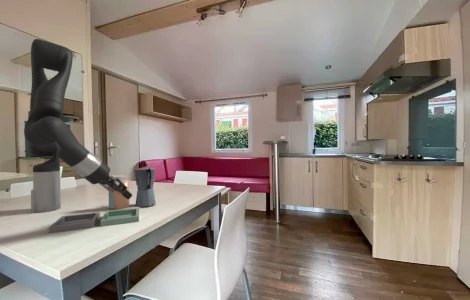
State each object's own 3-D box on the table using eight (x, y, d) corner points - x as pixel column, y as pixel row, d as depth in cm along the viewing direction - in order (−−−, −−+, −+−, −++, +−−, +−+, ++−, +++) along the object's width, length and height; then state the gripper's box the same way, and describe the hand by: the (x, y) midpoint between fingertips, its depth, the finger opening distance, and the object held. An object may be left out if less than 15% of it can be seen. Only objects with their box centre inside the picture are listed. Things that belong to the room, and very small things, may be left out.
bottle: (118, 211, 92) (118, 177, 92) (105, 210, 94) (104, 176, 94) (129, 207, 99) (129, 174, 99) (116, 206, 101) (116, 174, 101)
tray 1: (49, 235, 68) (49, 227, 68) (62, 222, 79) (62, 216, 79) (93, 229, 73) (93, 221, 73) (100, 218, 84) (100, 212, 84)
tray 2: (100, 228, 73) (100, 220, 73) (105, 217, 84) (105, 211, 84) (138, 223, 78) (138, 216, 78) (139, 213, 89) (139, 207, 89)
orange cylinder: (112, 209, 78) (112, 181, 78) (114, 205, 82) (114, 179, 82) (128, 207, 80) (128, 180, 80) (129, 204, 84) (129, 178, 84)
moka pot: (150, 200, 111) (149, 162, 111) (162, 206, 100) (162, 164, 100) (130, 204, 105) (130, 163, 105) (141, 210, 93) (141, 165, 93)
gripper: (109, 160, 71) (143, 190, 81) (90, 159, 79) (123, 186, 89) (91, 177, 66) (129, 207, 76) (74, 175, 75) (110, 202, 85)
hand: (126, 196), depth 83 cm, fingers closed on orange cylinder, 5 cm apart
